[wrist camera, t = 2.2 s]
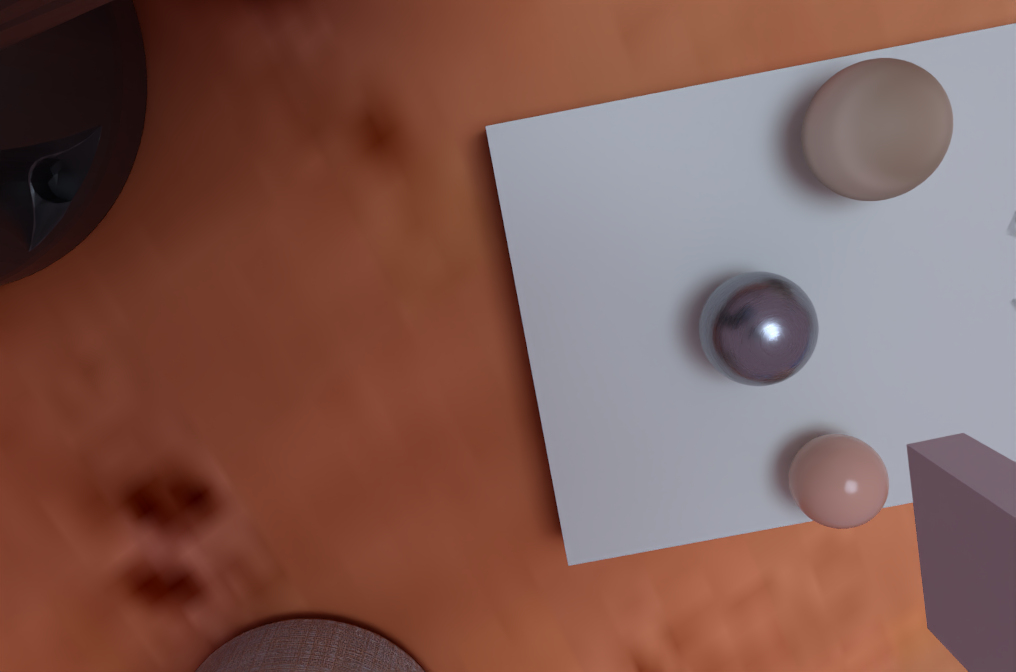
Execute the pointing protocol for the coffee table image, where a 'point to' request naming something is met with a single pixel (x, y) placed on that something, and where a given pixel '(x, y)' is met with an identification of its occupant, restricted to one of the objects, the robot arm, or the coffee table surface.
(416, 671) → the planter
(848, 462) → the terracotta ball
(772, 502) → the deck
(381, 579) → the coffee table surface
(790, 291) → the steel ball
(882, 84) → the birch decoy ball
